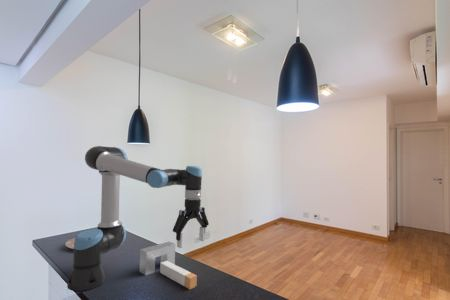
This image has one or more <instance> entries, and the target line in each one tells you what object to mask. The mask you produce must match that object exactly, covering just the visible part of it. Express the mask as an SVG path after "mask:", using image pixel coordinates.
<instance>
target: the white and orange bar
mask: <svg viewBox="0 0 450 300" xmlns="http://www.w3.org/2000/svg"><path fill="white" fill-rule="evenodd" d="M159 273H160V274H162V275H163V276H164V277H165V276H166V277H167V278H169V279H170V280H172V281H174V282H176V283H178V284H179V285H181V286H183V287H185V288H187V289H188V290H191V289H194V288H196V287H197V285H198V284H197V283H198V282H197V281H198V275H197V274H195V273H193V272H190V271H189V270H187V269H185V268H183V267H182V266H181V267H180V266H178V265H176V263H175V264H173V263H171V262H169V261H164V262H161V261H160V266H159ZM195 286H196V287H195Z"/></svg>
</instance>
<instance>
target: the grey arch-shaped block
mask: <svg viewBox="0 0 450 300" xmlns="http://www.w3.org/2000/svg"><path fill="white" fill-rule="evenodd" d="M139 251H140V252H139V270H138V271H139V273H141V274H142V275H144V276H148V275H151V274H154V273H155V271H156V258H159V257H160V263H161V262H164V261H169V262H171V263H173V264H175V265H176V243H174V242H172V241H166V242H162V243H159V244H154V245H151V246H147V247H144V248H140V249H139Z"/></svg>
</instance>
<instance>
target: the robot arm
mask: <svg viewBox="0 0 450 300" xmlns="http://www.w3.org/2000/svg"><path fill="white" fill-rule="evenodd" d="M84 155H85V156H84V162H85V164H86V165H87V167H89V168H91V169H93V170H97V171H98V173H99V175H101V202H100V203H101V208H100V209H101V210H100V222H99V223H98V224H97V228H93V229H92V228H91V229H86V230H84V231H81V232H78V233H77V234H76V235H75V237H74V238H75V241H74V249H73V258H72V260H73V261H72V270H71V272H70V274H69V277H68V280H67V286H66V287H67V289H68V290H70V291H72V292H84V290H85V291H89V290H92V289H95V288H97V287H100V286H101V285H102V284H103V283H105V278H106V277H105V271H104V269H103V265H102V256H103V255H104V254H107V253H108V252H111V251H113V250H116V249H117V248H119V247H120V246H122V245H123V244H124V243H125V241H126V238H127V230H126V229H125V227H124V226H123V223H122V222H121V220H120V185H121V184H120V179H121V176H123V177H126V178H129V179H133V180H136V181H139V182H142V183H145V184H147V185H148V186H149V187H151V188H154V189H161V188H165V187H170V186H185V189H184V190H185V191H184V198H185V199H184V208H185V209H184V210H182V209H180V210H179V211H178V216H177V219H176V221H175V224H174V226H173V228H172V232H173V233H174V234H175V233H176V234H175V239H176V248H179V249H182V248H183V235H184V234H183V230H184V229H185V227H186V225H187V223H188V222H189V221H191V220H193V219H195V220H196V221H197V222H198V223H199V225H200V226H199V234H198V235H199V236H198V241H201V242H205V234H206V228H207V227H208V226H209V220H208V218H207V215H206V211H205V209H206V208H205V207H202V206H201V202H202V201H201V200H202V199H201V198H202V176H203V175H202V173H203V172H202V170H203V169H202V167H201V166H199V165H187V166H186V167H185V169H178V168H177V169H175V168H174V169H173V168H165V169H160V168H157V167H154V166H152V165H151V166H150V165H147V164H145V163H144V164H143V163H140V162H136V161H133V160H131V159H130V160H129V159H128V155H127V153H126V151H125V150H123V149H121V148H118V147H116V146H102V145H97V146H93V147H91V148H89V149H88V150H87V151H86V153H85V154H84Z"/></svg>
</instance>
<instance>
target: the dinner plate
mask: <svg viewBox="0 0 450 300" xmlns="http://www.w3.org/2000/svg"><path fill="white" fill-rule="evenodd" d="M74 241H75V237H74V238H71V239H69V240H67V241H66V242H65V244H64V245H65V247H67V248H68V249H71V250H74Z"/></svg>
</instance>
